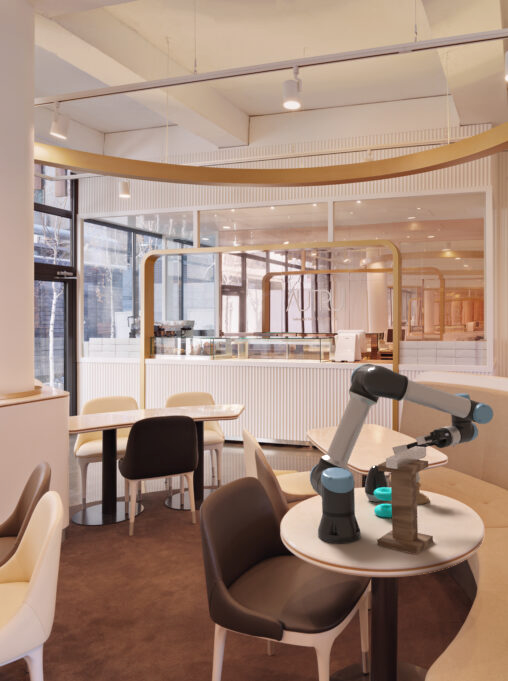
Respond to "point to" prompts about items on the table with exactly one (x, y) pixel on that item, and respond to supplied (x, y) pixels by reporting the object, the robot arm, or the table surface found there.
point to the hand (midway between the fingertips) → (405, 446)
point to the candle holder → (420, 496)
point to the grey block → (405, 457)
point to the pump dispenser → (375, 483)
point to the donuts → (385, 495)
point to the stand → (404, 510)
